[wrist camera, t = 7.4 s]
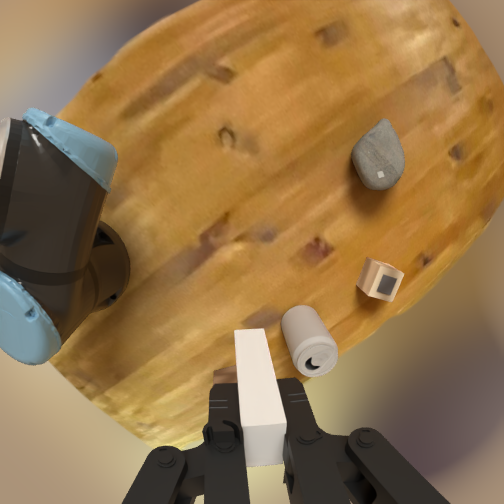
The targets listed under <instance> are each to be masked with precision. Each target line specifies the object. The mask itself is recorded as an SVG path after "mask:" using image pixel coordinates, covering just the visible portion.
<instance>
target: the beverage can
mask: <svg viewBox="0 0 504 504" xmlns="http://www.w3.org/2000/svg"><path fill="white" fill-rule="evenodd" d="M281 328H282V331H283V334H284V337H285V340H286V343H287V346H288V349H289V352H290V355H291V358H292V361H293V364H294V366H295V367H296V369H297V370H299V371H300V372H301V373H302V374H303V375H305V376H308V377H318V376H322V375H324V374H326V373H328V372H329V371H330V370H332V368H333V367H334V366H335V365H336V363H337V360H338V348H337V345H336V343H335V341H334V340H333V338H332V336H331V335H330V333H329V332H328V330H327V328H326V327H325V325H324V323H323V322H322V320H321V319H320V317H319V315H318V314H317V312H316V311H315V310H314V309H313V308H311V307H309V306H306V305H299V306H295V307H293V308H291V309H289V310H288V311H287V312H286V313H285V314H284V316H283V318H282V321H281Z"/></svg>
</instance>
